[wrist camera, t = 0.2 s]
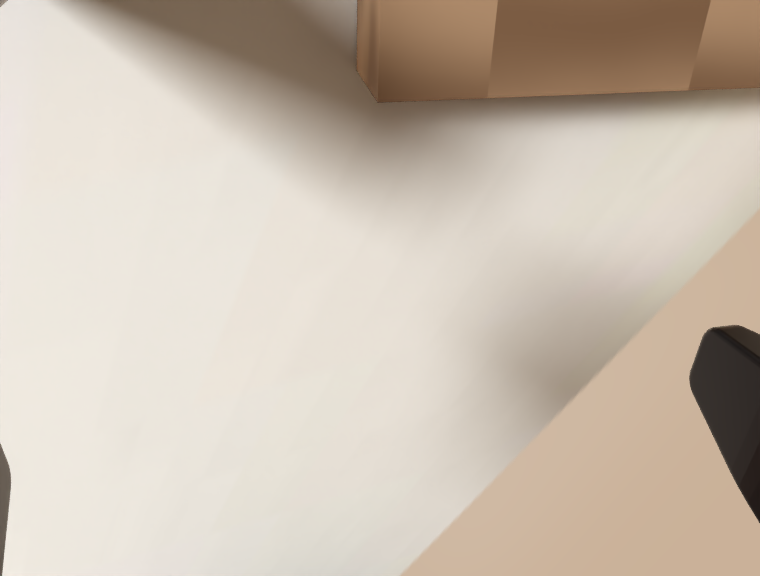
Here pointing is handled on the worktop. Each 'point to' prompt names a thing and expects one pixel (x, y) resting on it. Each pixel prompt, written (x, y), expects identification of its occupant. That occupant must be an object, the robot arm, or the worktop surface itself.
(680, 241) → the worktop surface
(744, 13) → the wooden square frame
